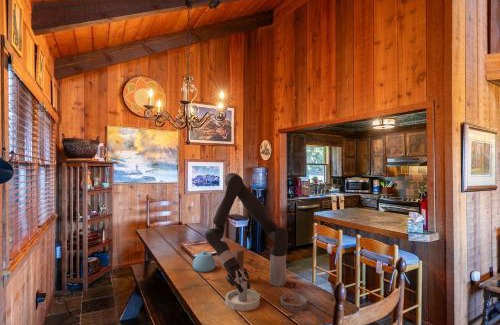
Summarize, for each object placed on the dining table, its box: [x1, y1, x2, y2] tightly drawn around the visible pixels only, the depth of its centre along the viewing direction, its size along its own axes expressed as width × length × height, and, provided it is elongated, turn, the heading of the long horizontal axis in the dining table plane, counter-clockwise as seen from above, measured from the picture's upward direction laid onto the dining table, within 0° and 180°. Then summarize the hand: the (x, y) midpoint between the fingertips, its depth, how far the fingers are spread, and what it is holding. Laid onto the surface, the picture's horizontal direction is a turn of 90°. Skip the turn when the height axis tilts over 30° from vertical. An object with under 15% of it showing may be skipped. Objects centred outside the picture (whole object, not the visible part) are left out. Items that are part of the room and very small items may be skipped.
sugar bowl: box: [192, 250, 216, 273], centre depth 190 cm, size 15×15×12 cm
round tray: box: [224, 288, 261, 312], centre depth 145 cm, size 17×17×3 cm
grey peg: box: [238, 280, 247, 302], centre depth 145 cm, size 4×4×9 cm
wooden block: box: [226, 248, 245, 283], centre depth 171 cm, size 9×4×18 cm, turn 119°
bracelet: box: [279, 292, 308, 311], centre depth 144 cm, size 14×14×3 cm
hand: (245, 290), depth 143 cm, fingers open, 5 cm apart
